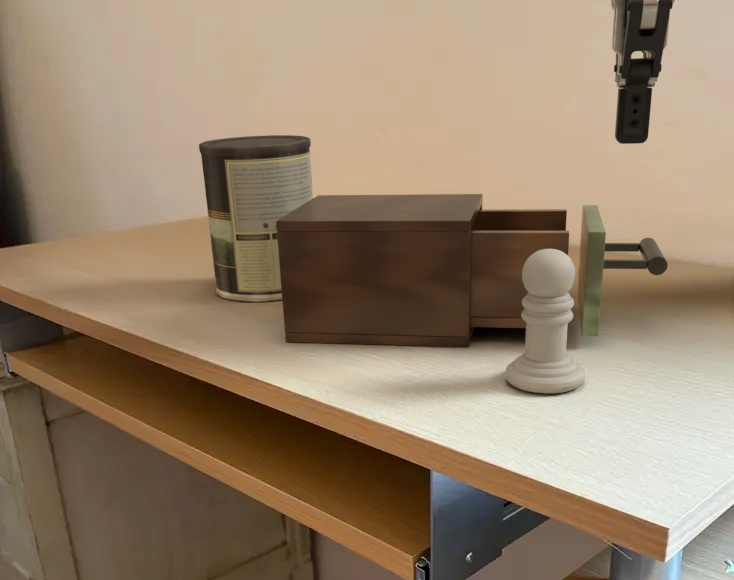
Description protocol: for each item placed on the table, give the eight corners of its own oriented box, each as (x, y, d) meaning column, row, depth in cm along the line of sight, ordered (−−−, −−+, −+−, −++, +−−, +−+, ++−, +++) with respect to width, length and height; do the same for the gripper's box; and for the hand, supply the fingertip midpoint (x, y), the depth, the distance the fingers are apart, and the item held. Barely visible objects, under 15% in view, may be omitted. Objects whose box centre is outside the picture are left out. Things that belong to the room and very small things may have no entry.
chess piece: (544, 402, 53) (550, 262, 49) (488, 379, 57) (491, 248, 53) (602, 383, 55) (612, 249, 52) (545, 362, 60) (551, 237, 56)
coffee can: (194, 297, 80) (175, 145, 75) (252, 273, 89) (240, 135, 83) (285, 306, 76) (272, 146, 70) (337, 280, 84) (330, 135, 79)
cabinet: (481, 302, 75) (482, 193, 71) (468, 347, 63) (470, 220, 60) (324, 299, 78) (317, 195, 74) (285, 342, 66) (275, 221, 62)
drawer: (647, 297, 71) (656, 204, 68) (664, 338, 61) (676, 231, 58) (436, 293, 75) (435, 205, 72) (418, 332, 64) (416, 231, 61)
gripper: (734, -166, 47) (699, 151, 54) (697, -122, 59) (672, 133, 66) (597, -153, 49) (580, 153, 55) (589, -113, 61) (575, 135, 67)
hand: (630, 142), depth 61 cm, fingers closed
